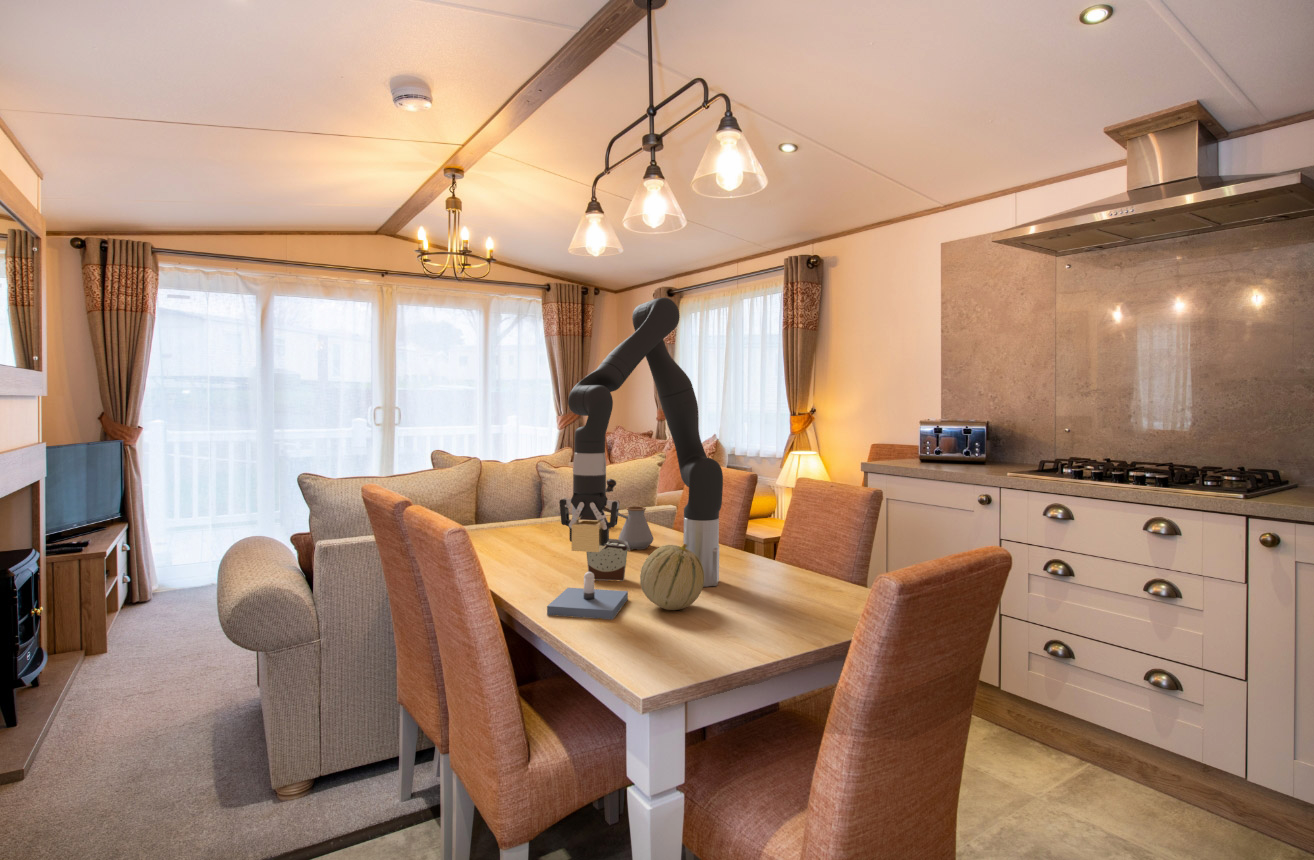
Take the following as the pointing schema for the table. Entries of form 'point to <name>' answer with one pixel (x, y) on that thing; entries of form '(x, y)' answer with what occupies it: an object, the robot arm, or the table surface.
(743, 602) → the table surface
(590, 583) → the post stand
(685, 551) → the cantaloupe
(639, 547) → the coffee pot
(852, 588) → the table surface
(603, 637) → the table surface
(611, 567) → the food container
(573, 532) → the brass collar
